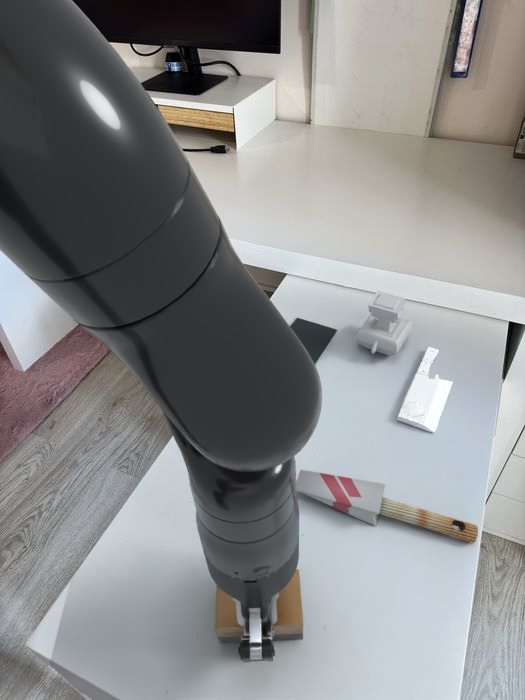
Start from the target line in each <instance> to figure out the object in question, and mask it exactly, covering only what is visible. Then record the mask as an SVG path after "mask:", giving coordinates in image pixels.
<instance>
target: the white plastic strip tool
mask: <svg viewBox="0 0 525 700" xmlns="http://www.w3.org/2000/svg"><path fill="white" fill-rule="evenodd" d="M425 350H426V351H425V353H424V355H423V357H422V360H421V362H420V364H419V366H418V369H417V370H416V373H415V375H414V377H413V379H412V381H411V384H410V385H409V387H408V390H407V391H406V394H405V395H404V399H403V401H402V404H401V407H400V410H399V412H398V414H397V417H396V421H398V422H402V423H404V424H407V425H409V426H412V427H415V428H418V429H420V430H424V431H425V432H426V431H427V432H429V433H433V434H435V433H436V430H437V428H438V425H439V422H440V421H441V420H440V419H441V418H442V414H443V411H444V408H445V406H446V403H447V401H448V398H449V395H450V392H451V390H452V386H453V384H454V381H451V380H447V379H442V378H440V375H439V374H435V376H434V378H430V377H429V373H430V369H431V366H432V364H433V362H434V361H435V359H436V358H437V356H438V355H439V352H440V349H439V348H434V347H432V346H427V348H426V349H425Z"/></svg>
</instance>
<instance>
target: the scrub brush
mask: <svg viewBox="0 0 525 700" xmlns="http://www.w3.org/2000/svg"><path fill="white" fill-rule="evenodd" d="M300 578H301V576H300V568H296V571H295V573H294V575H293V577H292V579H291V580H290V582H289V583H288V584H287V585H286V586H285V587H284V588H283V589H282V590H281V591H280V592H279V597H278V599H277V600H276V603H277V622H276V623H275V624H273V625H272V629H274V636H273V640H272V641H288V640H289V641H291V640H293V641H294V640H303V638H304V614H303V603H302V590H301V588H302V587H301V579H300ZM215 585H216V584H215ZM269 604H270V599H269ZM214 630H215V633H216V637H217V639H218V643H220V644H221V643H225V644H226V643H240V641H241V636H243V630H244V627H243V626H242V625H239V624H238V622H237V613H236V603H235V601H234V600H233V599H232V597H231V596H229V595H228V594H226V593H225V592H223V591H222V590H221V589H220V588H219V587H218V586H217V585H216V589H215V611H214Z"/></svg>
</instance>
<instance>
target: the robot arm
mask: <svg viewBox="0 0 525 700" xmlns="http://www.w3.org/2000/svg"><path fill="white" fill-rule="evenodd" d="M0 252H1V253H2V254H4V256H6V257H7V258H8V259H9V261H11V262H12V263H13V264H14V265H15V266H16V267H17V268H18V269H19V270H20V271H21V272H23V274H24V275H25V276H26V277H27V278H28V279H30V280H31V282H33V283H34V284H35V285H36V287H38V289H40V290H41V291H42V292H43V293H44V294H45V295H46V296H47V297H49V299H51V300H52V301H53V302H54V303H55V304H56V305H57V306H58V307H59V308H60V309H61V310H62V311H64V313H66V314H67V315H68V316H69V317H70V318H71V319H72V320H73V321H74V322H75V323H76V324H78V325H79V326H80V327H81V328H82V329H83V330H85V331H86V332H87V333H88V334H89V335H91V336H92V337H93V338H95V339H96V340H97V341H98V342H100V343H101V344H102V345H103V346H104V347H106V348H107V349H108V350H109V351H110V352H111V353H112V354H113V355H114V356H115V357H116V358H117V359H118V360H119V361H120V362H121V363H122V364H123V365H124V366H125V367H126V368H127V369H128V370H129V372H131V374H132V375H133V376H134V377H135V378H136V379H137V381H138V382H139V384H141V386H142V387H143V388H144V390H145V391H146V393H147V394H148V395H149V396H150V397H151V398H152V400H153V401H154V402H155V403H156V404H157V405H158V407H159V408H160V409H161V412H162V415H163V416H164V419H165V422H166V423H167V425H168V428H169V430H170V433H171V435H172V437H173V439H174V441H175V443H176V445H177V447H178V449H179V451H180V454H181V456H182V459H183V461H184V462H183V463H184V464H185V467H186V470H187V475H188V483H189V487H190V491H191V495H192V499H193V503H194V507H195V523H196V528H197V529H196V530H197V533H198V536H199V541H200V543H201V547H202V551H203V554H204V558H205V563H206V566H207V570H208V572H209V575H210V578H211V579H212V581H213V582H214V583H215V585H217V586H218V587H219V588H220V589H221V590H222V591H223V592H225V593H226V594H228V595H229V596H231V597H232V599H233V600H234V601H235V603H236V613H237V622H238V624H239V625H242V626H243V627H244V630H243V636H241V641H240V642H239V646H238V647H237V648H238V649H237V653H238V655H239V660H240V661H241V662H243V663H251V662H274V657H275V656H276V650H275V646H274V643H273V641H274V640H273V636H274V629H272V625H273V624H275V623H276V622H277V603H276V600H277V599H278V597H279V592H280V591H281V590H282V589H283V588H284V587H285V586H286V585H287V584H288V583H289V582H290V580H291V579H292V577H293V575H294V573H295V571H296V569H298V564H299V559H300V508H299V502H298V497H297V490H296V481H297V465H296V458H295V456H297V455H298V454H299V452H301V450H303V448H304V447H306V445H307V444H308V442H309V440H310V439H311V438H312V436H313V434H314V432H315V430H316V429H317V426H318V423H319V420H320V417H321V412H322V405H323V387H322V382H321V377H320V374H319V371H318V369H317V366H316V364H314V362H313V360H312V358H311V357H310V355H309V353H308V352H307V350H306V349H305V347H304V346H303V344H302V343H301V341H300V340H299V338H298V337H297V336H296V334H295V333H294V331H293V330H292V329H291V327H290V326H291V325H289V323H288V322H287V320H286V319H285V318H284V317H283V315H282V313H281V312H280V311H279V309H278V308H277V307H276V306H275V304H274V303H273V302H272V300H271V299H270V297H269V296H268V295H267V293H266V292H265V291H264V290H263V289H262V287H261V286H260V285H259V284H258V282H257V281H256V280H255V278H254V277H253V276H252V275H251V273H250V272H249V270H248V269H247V268H246V266H245V264H244V263H243V261H242V259H241V258H240V257H239V255H238V253H237V252H236V250H235V247H234V246H233V245H232V242H231V240H230V238H229V236H228V233H227V230H226V229H225V227H224V224H223V222H222V220H221V218H220V216H219V215H218V213H217V211H216V209H215V207H214V206H213V204H212V201H211V200H210V198H209V196H208V194H207V192H206V191H205V189H204V187H203V185H202V184H201V181H200V180H199V177H198V176H197V173H196V172H195V170H194V168H193V167H192V164H191V163H190V161H189V159H188V157H187V155H186V153H185V151H184V149H183V148H182V146H181V144H180V142H179V141H178V139H177V137H176V135H175V133H174V132H173V130H172V128H171V127H170V125H169V123H168V122H167V120H166V119H165V117H164V115H163V114H162V112H161V110H160V108H159V107H158V105H156V103H155V101H154V100H153V99H152V97H151V96H150V94H149V93H148V92H147V90H146V89H145V87H144V86H143V83H141V82H140V80H139V79H138V78H137V76H136V75H135V74H134V72H133V71H132V70H131V68H130V67H129V66H128V64H127V63H126V61H124V59H123V58H122V57H121V55H120V54H119V53H118V52H117V50H116V49H115V48H114V47H113V45H112V44H111V43H110V42H109V40H108V39H107V38H106V37H105V36H104V34H102V32H101V31H100V30H99V28H97V27H96V25H95V24H94V23H93V22H92V20H90V18H89V17H88V16H87V15H86V14H85V13H84V11H82V9H81V8H80V7H79V6H78V5H77V4H76V3H75V1H73V0H0ZM269 599H270V604H269Z"/></svg>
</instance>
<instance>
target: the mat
mask: <svg viewBox="0 0 525 700" xmlns="http://www.w3.org/2000/svg"><path fill="white" fill-rule="evenodd" d="M289 326H290V327H291V329H292V330H293V331H294V333H295V334H296V336H297V337H298V338H299V340H300V341H301V343H302V344H303V346H304V347H305V349H306V350H307V352H308V353H309V355H310V357H311V358H312V360H313V362H314V364H315V365H316V364H317V362H318V361H319V359H320V357H321V356H322V355H323V353H324V351H325V349H326V348H327V346H328V345H329V344H330V342H331V341H332V339H333V338H334V336H335V334H336V333H337V331H338V330H337V328H333V327H330V326H327V325H324V324H320V323H316V322H314V321H310V320H308V319H304V318H300V317H296V318H295V319H294V321H293V322H292V324H291V325H289Z"/></svg>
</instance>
